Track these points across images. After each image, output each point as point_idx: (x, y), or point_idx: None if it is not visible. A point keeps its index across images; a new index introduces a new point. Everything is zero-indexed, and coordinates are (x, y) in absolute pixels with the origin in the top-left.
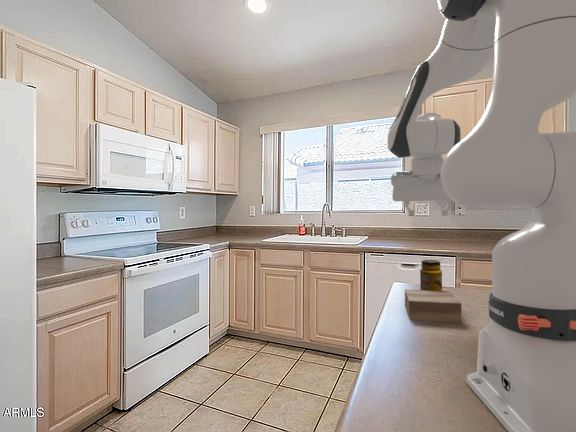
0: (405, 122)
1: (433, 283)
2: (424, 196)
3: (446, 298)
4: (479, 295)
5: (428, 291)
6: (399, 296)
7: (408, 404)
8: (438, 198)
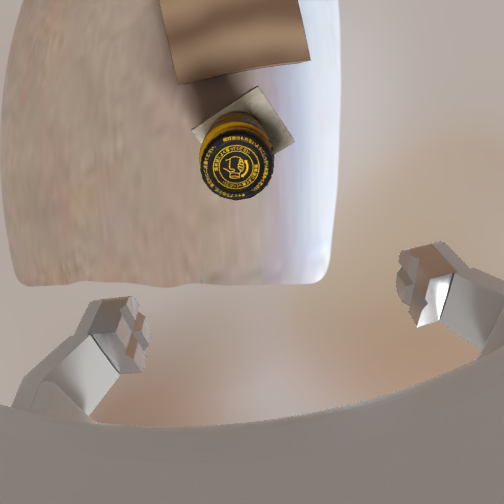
0: None
1: (227, 118)
2: (384, 465)
3: (188, 3)
4: (130, 232)
5: (239, 57)
6: (319, 146)
7: None
8: (105, 443)
